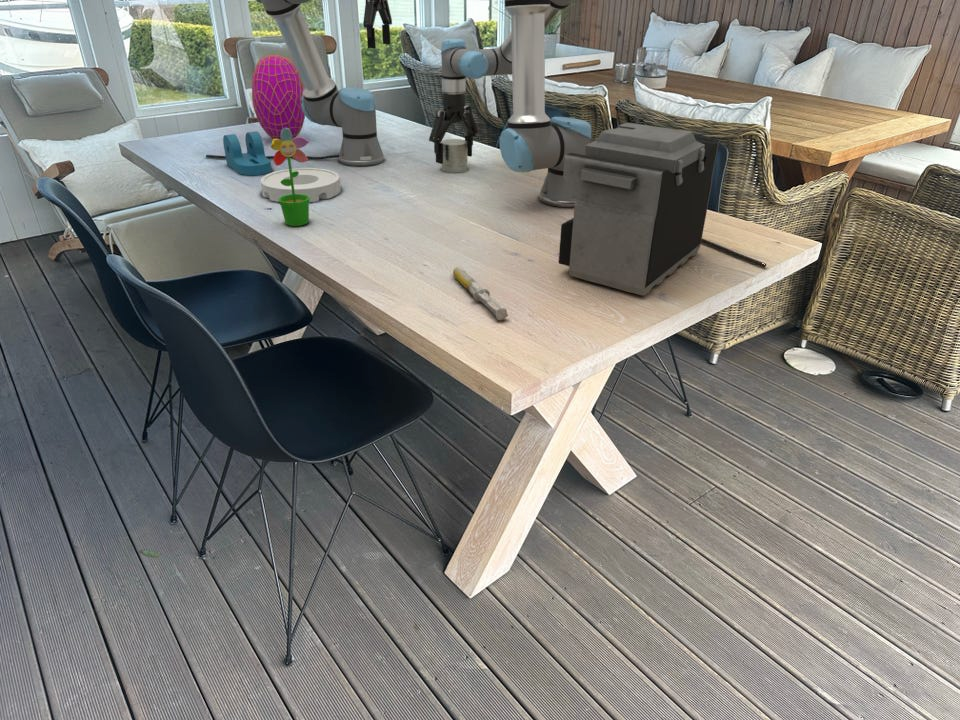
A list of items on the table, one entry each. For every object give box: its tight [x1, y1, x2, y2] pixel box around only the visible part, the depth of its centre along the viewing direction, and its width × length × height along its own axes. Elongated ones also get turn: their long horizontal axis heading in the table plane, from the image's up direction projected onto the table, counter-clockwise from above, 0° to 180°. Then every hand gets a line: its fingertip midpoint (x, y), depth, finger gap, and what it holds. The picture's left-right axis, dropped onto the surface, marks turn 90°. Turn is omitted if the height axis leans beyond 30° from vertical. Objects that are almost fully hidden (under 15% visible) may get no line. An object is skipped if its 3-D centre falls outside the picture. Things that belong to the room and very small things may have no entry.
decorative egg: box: [251, 54, 306, 141], centre depth 257 cm, size 19×19×30 cm
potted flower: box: [270, 128, 310, 227], centre depth 177 cm, size 9×8×25 cm
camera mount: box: [222, 131, 272, 176], centre depth 226 cm, size 18×10×10 cm, turn 35°
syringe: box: [452, 266, 509, 321], centre depth 145 cm, size 25×4×3 cm, turn 21°
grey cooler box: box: [558, 122, 720, 297], centre depth 154 cm, size 37×22×30 cm, turn 144°
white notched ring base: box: [260, 167, 342, 203], centre depth 207 cm, size 23×23×4 cm
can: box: [441, 138, 468, 174], centre depth 229 cm, size 9×9×9 cm
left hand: (379, 46), depth 251 cm, fingers open, 13 cm apart
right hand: (454, 159), depth 230 cm, fingers open, 13 cm apart
